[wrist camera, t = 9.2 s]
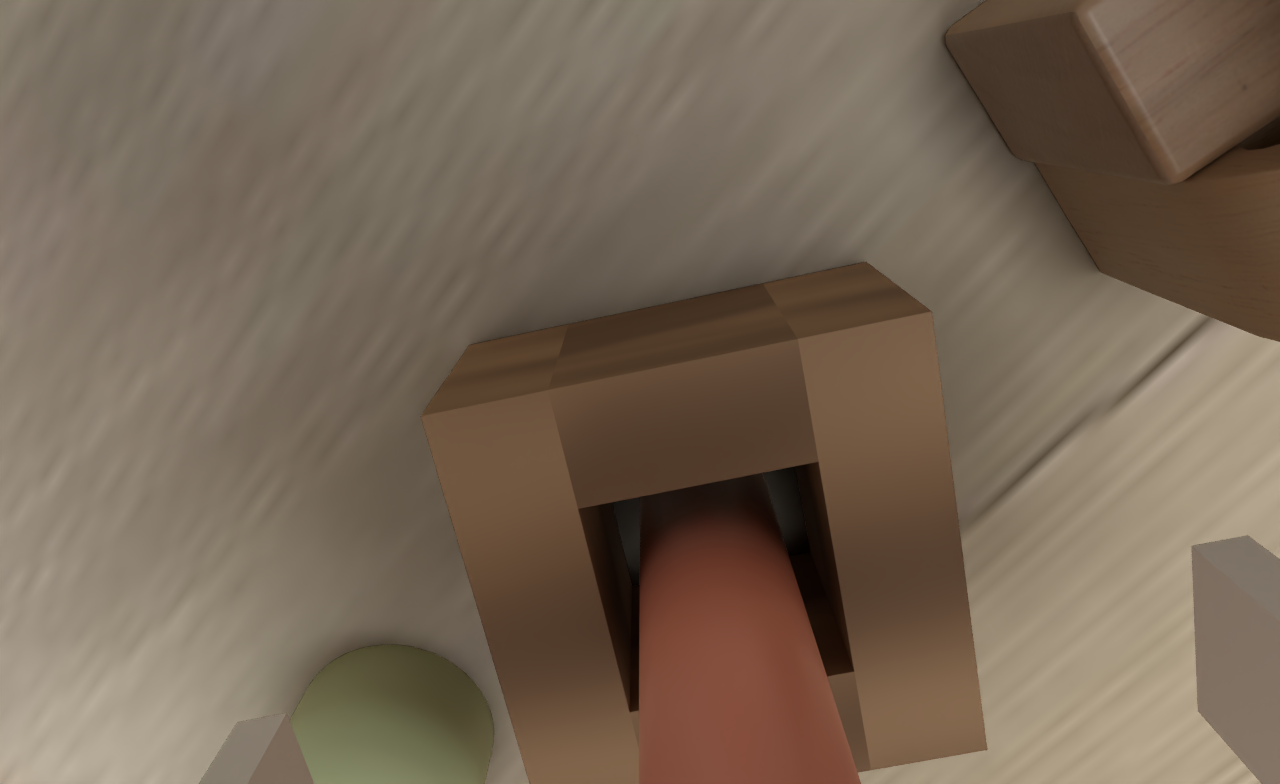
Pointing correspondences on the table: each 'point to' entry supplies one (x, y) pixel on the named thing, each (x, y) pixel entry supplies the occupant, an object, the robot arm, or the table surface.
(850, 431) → the square wooden frame
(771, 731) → the pink capsule rod
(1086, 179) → the wooden toy
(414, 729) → the olive green rounded piece
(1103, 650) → the table surface
